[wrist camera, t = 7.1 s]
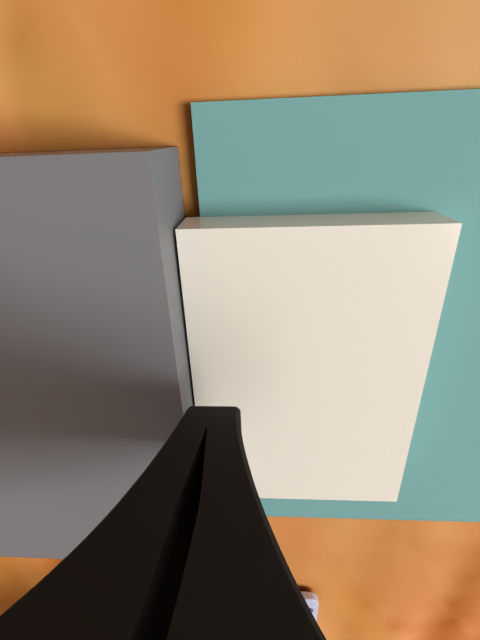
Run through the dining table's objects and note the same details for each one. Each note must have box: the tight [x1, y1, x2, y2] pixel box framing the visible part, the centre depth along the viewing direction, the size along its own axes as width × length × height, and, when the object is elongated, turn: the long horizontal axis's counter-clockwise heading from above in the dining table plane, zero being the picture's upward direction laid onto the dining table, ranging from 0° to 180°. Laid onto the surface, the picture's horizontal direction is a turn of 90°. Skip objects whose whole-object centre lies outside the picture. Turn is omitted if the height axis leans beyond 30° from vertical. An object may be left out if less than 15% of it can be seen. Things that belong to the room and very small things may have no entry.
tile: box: [175, 211, 462, 502], centre depth 12 cm, size 10×7×2 cm
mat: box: [190, 89, 480, 522], centre depth 13 cm, size 16×12×1 cm
